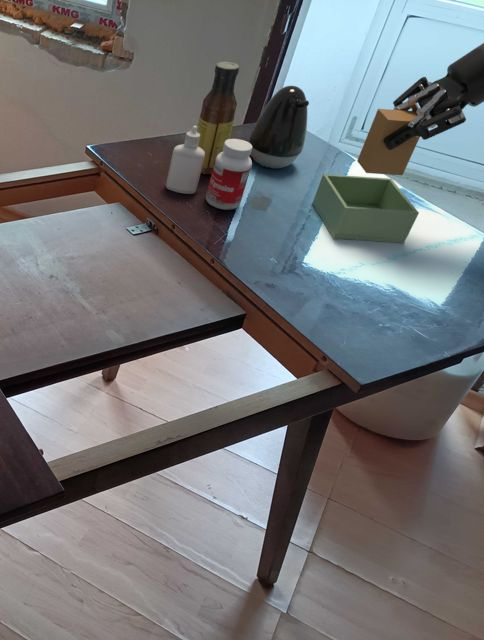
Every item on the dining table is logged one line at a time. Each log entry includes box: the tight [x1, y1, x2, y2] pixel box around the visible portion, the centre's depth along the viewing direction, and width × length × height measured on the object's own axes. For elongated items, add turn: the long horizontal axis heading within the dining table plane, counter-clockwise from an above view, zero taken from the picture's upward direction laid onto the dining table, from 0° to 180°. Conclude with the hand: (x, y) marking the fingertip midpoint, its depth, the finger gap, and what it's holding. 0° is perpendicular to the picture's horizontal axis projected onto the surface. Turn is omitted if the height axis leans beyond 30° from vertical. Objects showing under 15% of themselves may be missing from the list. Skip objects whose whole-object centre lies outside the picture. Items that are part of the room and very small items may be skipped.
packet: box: [357, 108, 423, 176], centre depth 111 cm, size 4×6×9 cm
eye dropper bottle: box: [165, 125, 205, 195], centre depth 123 cm, size 4×6×12 cm
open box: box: [312, 173, 420, 244], centre depth 119 cm, size 12×12×6 cm
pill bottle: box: [205, 138, 253, 211], centre depth 120 cm, size 6×6×11 cm
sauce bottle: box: [197, 61, 240, 174], centre depth 127 cm, size 7×6×20 cm
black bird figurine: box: [248, 85, 310, 169], centre depth 132 cm, size 10×10×15 cm
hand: (380, 138), depth 111 cm, fingers closed on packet, 4 cm apart
